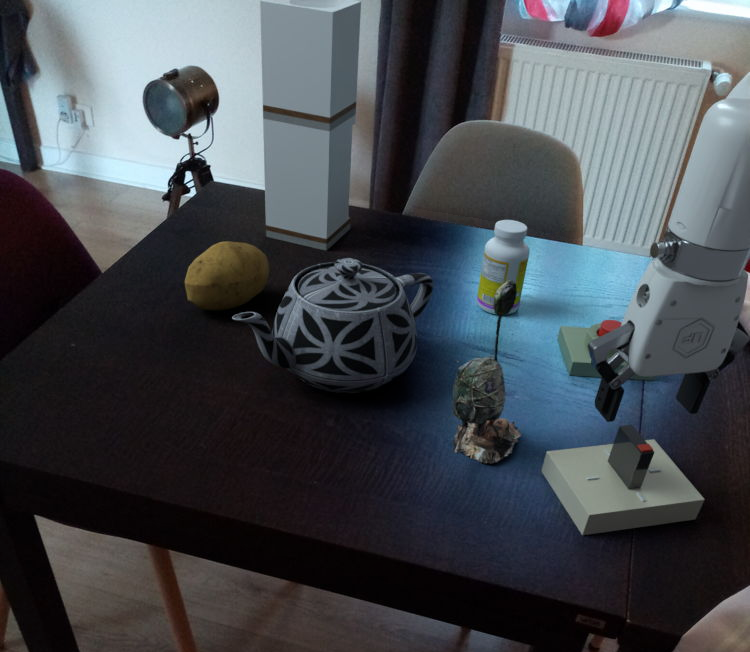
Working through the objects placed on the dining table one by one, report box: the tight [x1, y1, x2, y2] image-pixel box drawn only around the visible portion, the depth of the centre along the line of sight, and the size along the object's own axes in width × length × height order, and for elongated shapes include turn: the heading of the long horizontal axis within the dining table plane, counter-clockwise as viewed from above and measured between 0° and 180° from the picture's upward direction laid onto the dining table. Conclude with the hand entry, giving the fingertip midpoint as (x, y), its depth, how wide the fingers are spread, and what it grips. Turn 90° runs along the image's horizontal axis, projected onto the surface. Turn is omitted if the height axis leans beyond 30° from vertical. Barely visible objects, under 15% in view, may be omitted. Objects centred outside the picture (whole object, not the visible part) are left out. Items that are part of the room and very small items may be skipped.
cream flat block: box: [541, 438, 705, 536], centre depth 88 cm, size 14×11×3 cm
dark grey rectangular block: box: [608, 424, 654, 489], centre depth 86 cm, size 5×2×5 cm, turn 14°
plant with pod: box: [451, 280, 522, 464], centre depth 88 cm, size 8×11×20 cm
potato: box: [184, 240, 270, 312], centre depth 114 cm, size 10×13×9 cm
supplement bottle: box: [476, 219, 530, 315], centre depth 118 cm, size 7×7×13 cm
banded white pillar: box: [259, 0, 362, 252], centre depth 127 cm, size 11×11×35 cm
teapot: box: [231, 257, 434, 394], centre depth 100 cm, size 19×31×15 cm, turn 127°
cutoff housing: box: [556, 322, 657, 382], centre depth 111 cm, size 12×10×4 cm
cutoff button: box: [598, 319, 622, 337], centre depth 109 cm, size 4×4×2 cm
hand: (645, 410), depth 82 cm, fingers open, 9 cm apart
